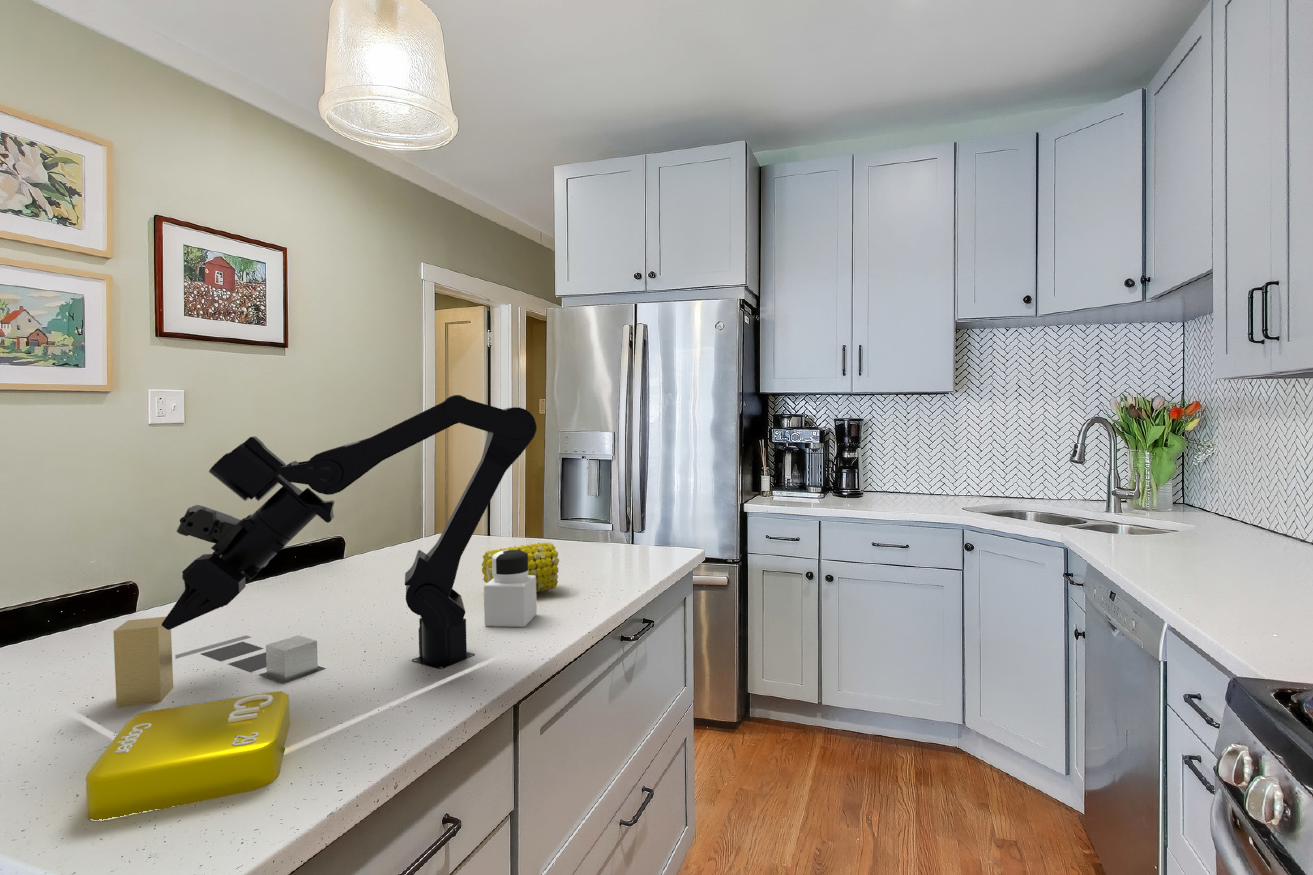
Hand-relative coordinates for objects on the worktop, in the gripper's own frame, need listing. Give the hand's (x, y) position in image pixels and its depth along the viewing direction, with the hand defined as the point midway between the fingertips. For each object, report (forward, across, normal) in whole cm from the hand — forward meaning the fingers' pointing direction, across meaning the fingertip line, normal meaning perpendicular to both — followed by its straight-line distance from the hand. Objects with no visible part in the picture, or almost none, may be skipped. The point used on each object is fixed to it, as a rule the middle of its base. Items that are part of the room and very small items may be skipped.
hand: (177, 616), depth 84 cm
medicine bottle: (-24, -16, +38) cm, 48 cm away
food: (-27, -31, +41) cm, 58 cm away
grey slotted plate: (+2, -9, +12) cm, 16 cm away
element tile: (+2, +21, +13) cm, 25 cm away
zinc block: (-2, -2, +16) cm, 16 cm away
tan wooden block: (+10, 0, +5) cm, 11 cm away
